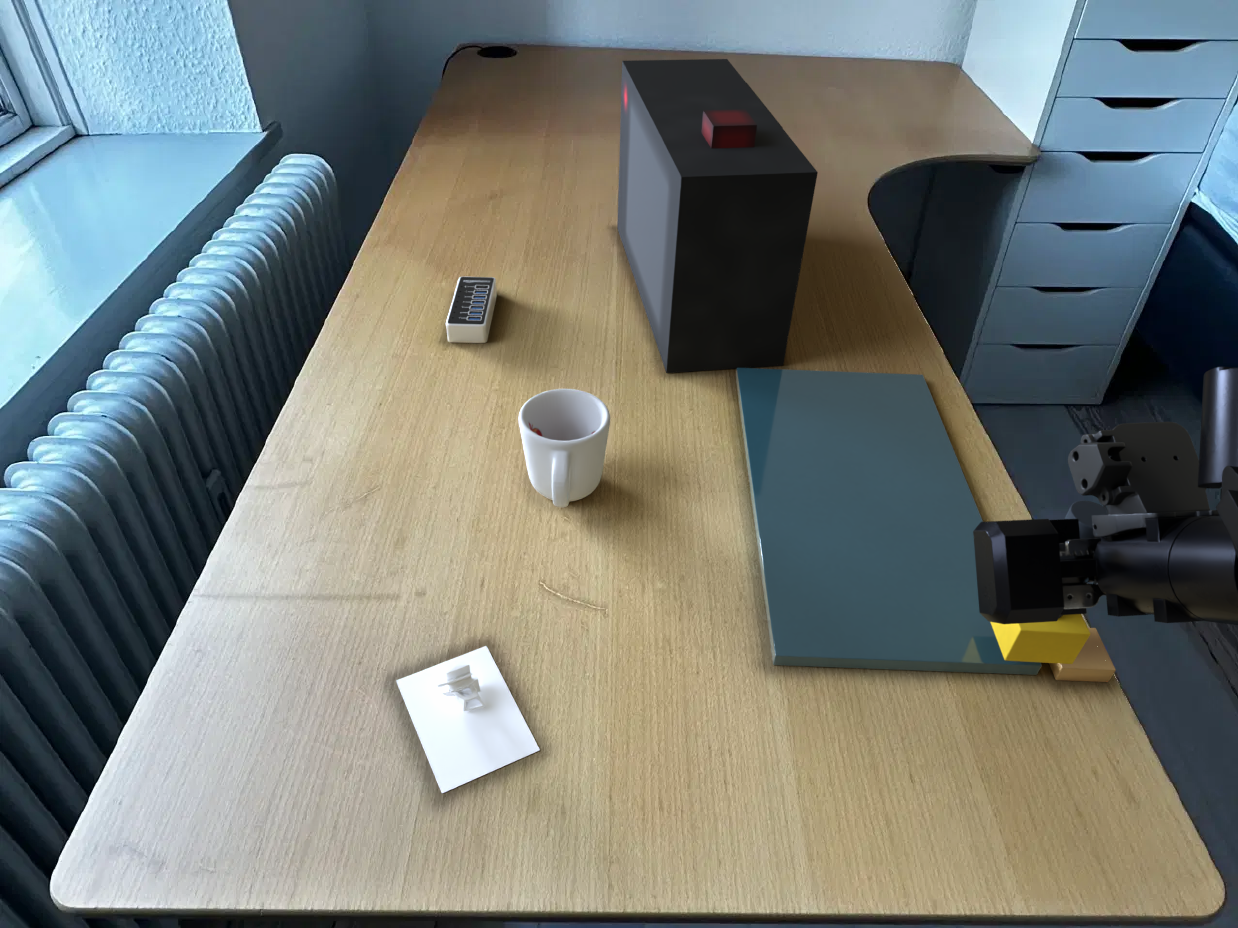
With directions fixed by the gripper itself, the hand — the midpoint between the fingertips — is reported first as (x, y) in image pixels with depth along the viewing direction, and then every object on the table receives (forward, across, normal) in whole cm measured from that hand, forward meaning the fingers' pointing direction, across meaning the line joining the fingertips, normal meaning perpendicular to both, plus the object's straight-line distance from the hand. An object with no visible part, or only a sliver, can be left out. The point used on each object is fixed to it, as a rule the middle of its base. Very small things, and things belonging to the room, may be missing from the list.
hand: (1051, 561), depth 63 cm
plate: (+19, +7, -6) cm, 21 cm away
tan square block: (+6, -4, +8) cm, 11 cm away
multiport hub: (+43, +43, -29) cm, 67 cm away
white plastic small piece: (+5, +42, +9) cm, 43 cm away
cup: (+21, +34, -7) cm, 40 cm away
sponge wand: (+4, 0, +6) cm, 7 cm away
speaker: (+46, +15, -33) cm, 59 cm away
